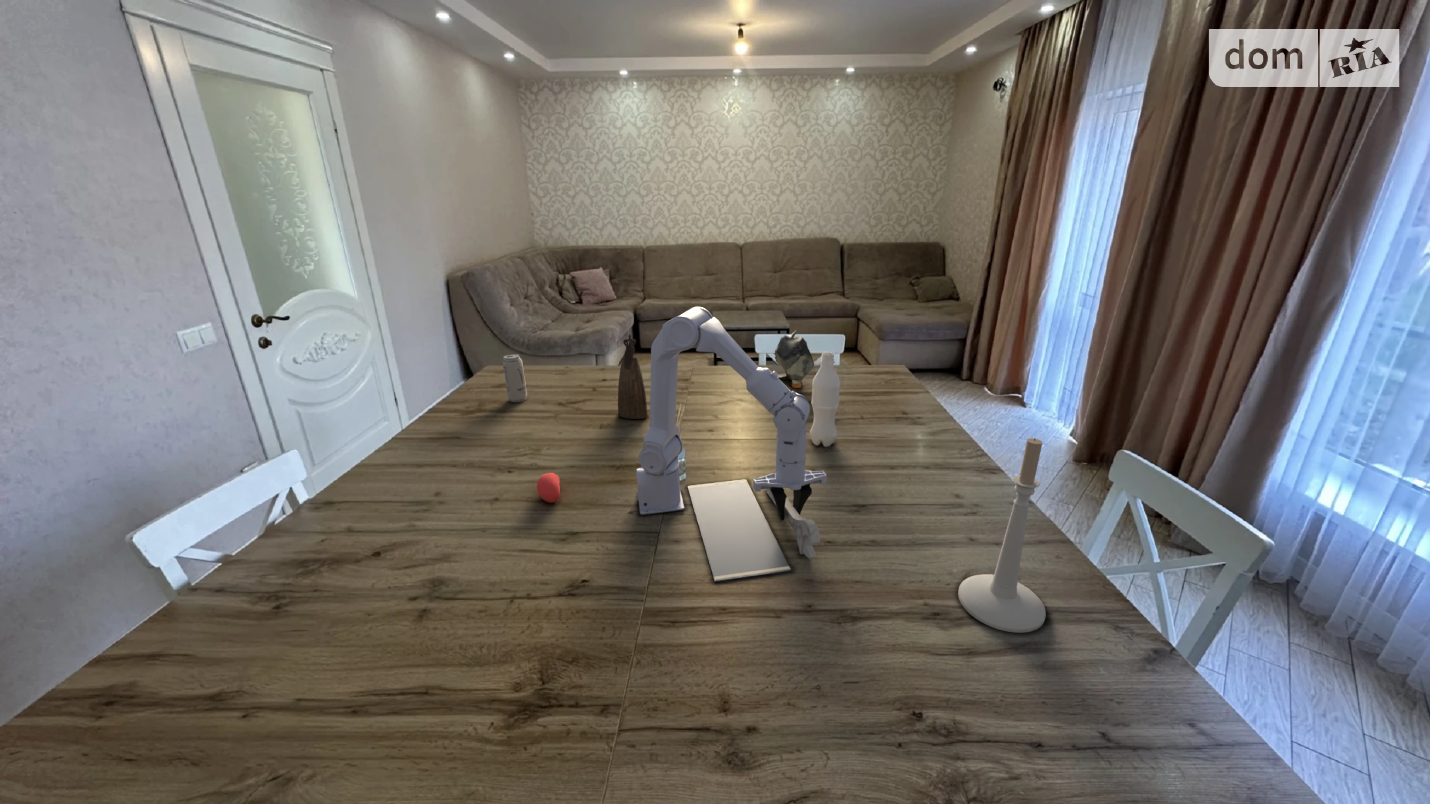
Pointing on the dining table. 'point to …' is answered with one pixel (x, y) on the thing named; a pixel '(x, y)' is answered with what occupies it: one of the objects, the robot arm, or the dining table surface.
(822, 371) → the water bottle
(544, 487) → the stress ball
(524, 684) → the dining table surface
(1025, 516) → the candlestick
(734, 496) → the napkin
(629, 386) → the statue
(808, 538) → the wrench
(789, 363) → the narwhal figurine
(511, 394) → the energy drink can
